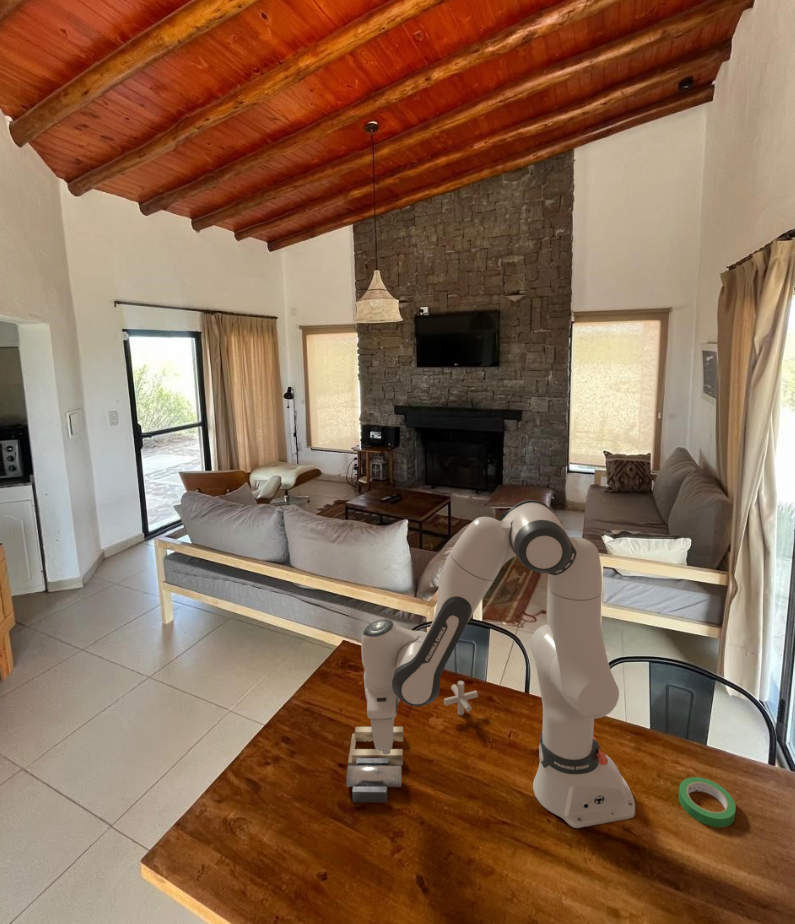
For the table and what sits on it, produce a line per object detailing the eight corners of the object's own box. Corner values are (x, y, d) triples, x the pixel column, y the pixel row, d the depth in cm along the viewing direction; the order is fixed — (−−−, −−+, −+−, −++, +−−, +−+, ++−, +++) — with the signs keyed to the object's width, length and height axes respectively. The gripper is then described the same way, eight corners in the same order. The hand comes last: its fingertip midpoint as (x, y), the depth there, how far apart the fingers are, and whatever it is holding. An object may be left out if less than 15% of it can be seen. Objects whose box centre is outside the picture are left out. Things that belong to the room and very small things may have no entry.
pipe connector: (468, 698, 156) (468, 668, 153) (484, 720, 146) (484, 689, 144) (438, 706, 153) (437, 676, 150) (452, 729, 143) (452, 697, 141)
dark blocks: (388, 768, 131) (388, 758, 130) (386, 802, 121) (386, 791, 120) (357, 768, 131) (356, 758, 130) (352, 802, 121) (352, 791, 120)
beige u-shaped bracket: (403, 736, 141) (403, 726, 141) (402, 765, 131) (402, 755, 131) (352, 736, 142) (352, 726, 141) (348, 765, 132) (347, 755, 131)
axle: (401, 775, 128) (401, 761, 127) (401, 791, 124) (400, 776, 122) (349, 775, 128) (348, 761, 127) (347, 791, 124) (346, 776, 123)
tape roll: (701, 832, 112) (702, 822, 111) (667, 790, 123) (669, 780, 122) (746, 823, 114) (748, 814, 113) (709, 782, 124) (711, 773, 124)
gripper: (373, 660, 131) (377, 707, 134) (366, 718, 111) (371, 771, 115) (398, 659, 131) (401, 706, 134) (395, 716, 111) (399, 770, 114)
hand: (387, 736), depth 124 cm, fingers open, 8 cm apart
